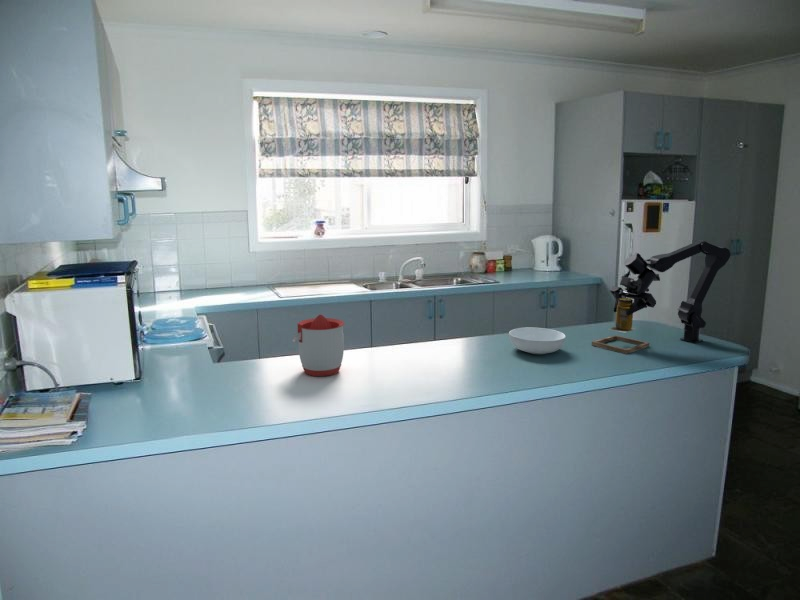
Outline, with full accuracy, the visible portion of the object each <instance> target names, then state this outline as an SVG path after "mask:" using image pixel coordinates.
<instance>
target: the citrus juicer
mask: <svg viewBox="0 0 800 600" xmlns="http://www.w3.org/2000/svg"><path fill="white" fill-rule="evenodd" d="M296 325H297V333H296V334H294V335H293V336H292V342H294V343H295V342H298V355H299V359H300V363H301V367H302V370H303V371H304V373H305V374H306V375H309V376H312V377H325V376H326V377H327V376H333V375H336V374H337V373H338V372H340V369H341V367H342V362H343V358H344V351H345V349H344V347H345V345H344V344H345V343H344V342H345V341H344V340H345V339H344V338H345V337H344V336H345V335H344V325H345V322H344V321H343V320H341V319H337V318H331V317H330V318H328V317H325V316H324V315H323V314H321V313H320V314H318V315H317V316H316V317H315V318H308V319H304V320H301V321H299V322H298V323H297V324H296Z"/></svg>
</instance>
